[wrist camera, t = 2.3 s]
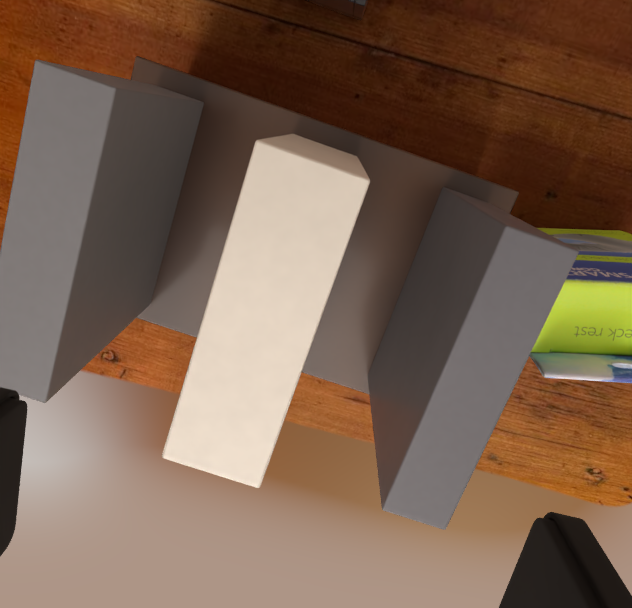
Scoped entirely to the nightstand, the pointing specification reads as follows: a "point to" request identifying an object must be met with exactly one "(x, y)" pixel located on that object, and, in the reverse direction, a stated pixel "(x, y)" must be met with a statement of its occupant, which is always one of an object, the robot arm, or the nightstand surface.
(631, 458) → the nightstand surface
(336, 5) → the book tray
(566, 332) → the box
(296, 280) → the white book
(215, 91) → the book shelf
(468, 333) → the grey book
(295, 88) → the nightstand surface
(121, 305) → the grey book
